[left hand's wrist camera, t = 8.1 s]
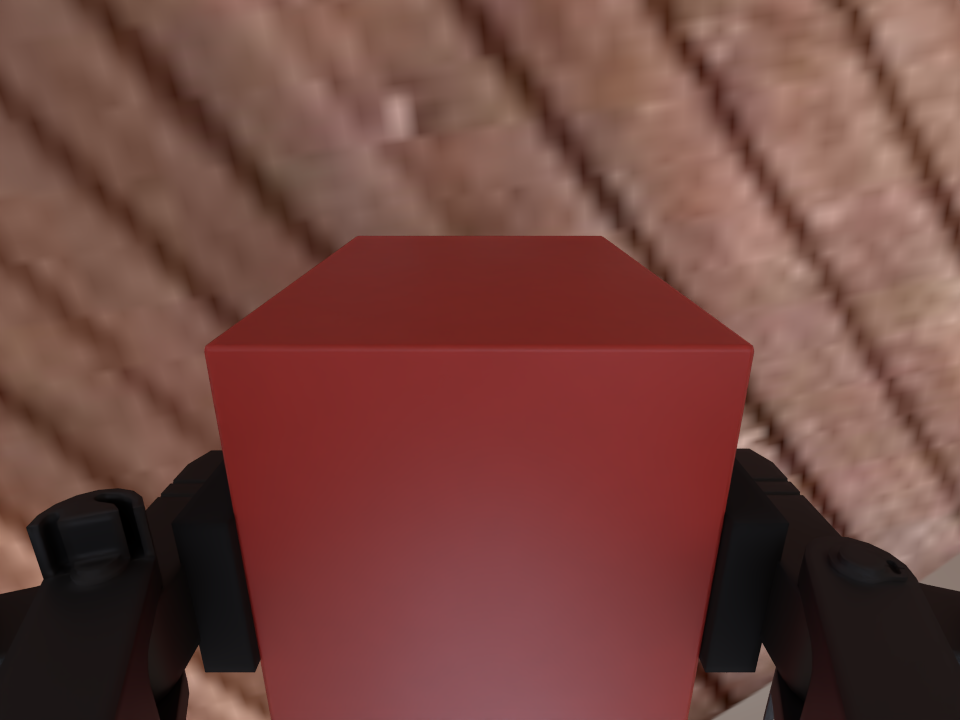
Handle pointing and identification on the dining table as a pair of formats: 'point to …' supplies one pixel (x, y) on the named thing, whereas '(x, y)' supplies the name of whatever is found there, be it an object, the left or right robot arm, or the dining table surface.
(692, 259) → the dining table surface
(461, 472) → the block
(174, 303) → the dining table surface
